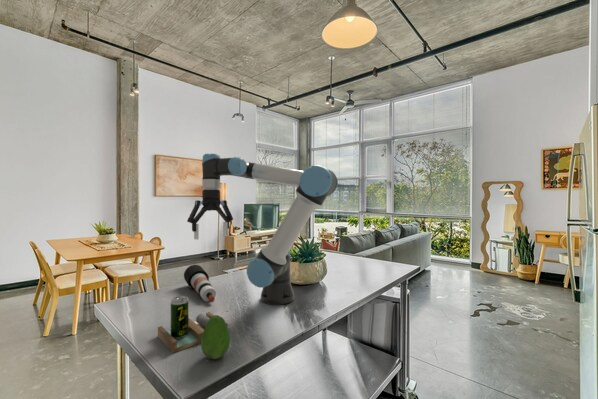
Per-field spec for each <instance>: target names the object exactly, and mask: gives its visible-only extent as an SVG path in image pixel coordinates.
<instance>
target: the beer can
mask: <svg viewBox="0 0 598 399" xmlns="http://www.w3.org/2000/svg"><path fill="white" fill-rule="evenodd" d="M170 300H171V301H170V329H171V336H172V337H173V338H174V339H181V338H184V337H186V336H187V335H188V332H189V319H190V317H189V316H190V315H189V314H190V313H189V310H190V309H189V302H190V301H189V297H188V296H186V295H179V296H174V297H173V298H171V299H170Z"/></svg>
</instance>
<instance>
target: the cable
mask: <svg viewBox="0 0 598 399" xmlns="http://www.w3.org/2000/svg"><path fill="white" fill-rule="evenodd" d="M183 279H184V280H185V283H186V284H187V286H188V287H189V288H190V290H192V291H195V292H196V293H197V294H198V295H199V296H200V298H201V299H202V301H204V302H210V303H213V302H215V301H216V299H215V297H216V295H217V294H216V290H215V288H214V287H213V285H212V284H211V281H209V280H210V278H209V274H208V273H207V272H206V271H205V269H204V268H203V267H202V266H201V265H199V264H192V265H189V266H188V267H187V268H186V269H185V271H184V273H183Z"/></svg>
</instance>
